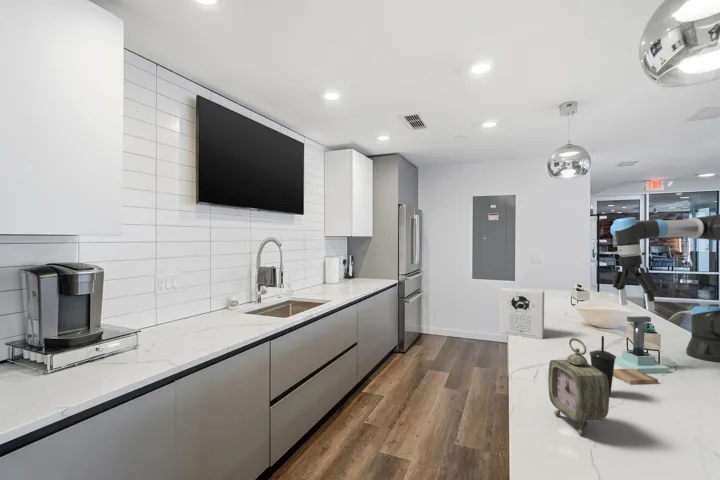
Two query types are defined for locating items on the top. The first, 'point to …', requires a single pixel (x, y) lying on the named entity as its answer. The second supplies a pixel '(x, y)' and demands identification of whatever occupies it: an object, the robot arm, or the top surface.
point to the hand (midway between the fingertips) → (636, 307)
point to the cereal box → (522, 312)
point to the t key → (638, 333)
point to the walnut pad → (633, 376)
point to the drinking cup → (603, 362)
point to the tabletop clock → (578, 388)
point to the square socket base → (640, 363)
